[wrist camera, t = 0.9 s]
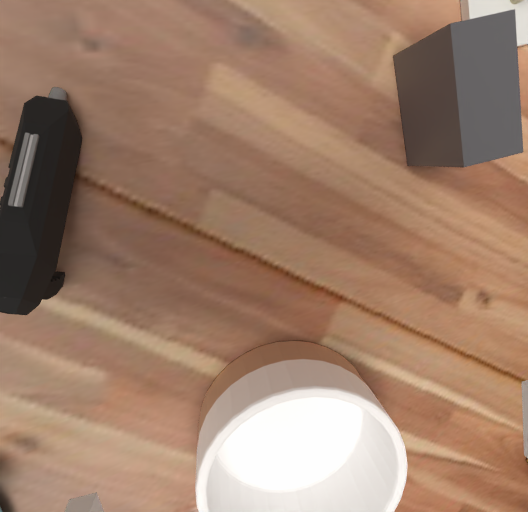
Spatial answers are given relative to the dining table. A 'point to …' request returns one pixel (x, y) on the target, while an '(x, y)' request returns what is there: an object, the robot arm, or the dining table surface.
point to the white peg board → (486, 3)
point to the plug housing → (461, 93)
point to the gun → (37, 202)
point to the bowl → (296, 436)
